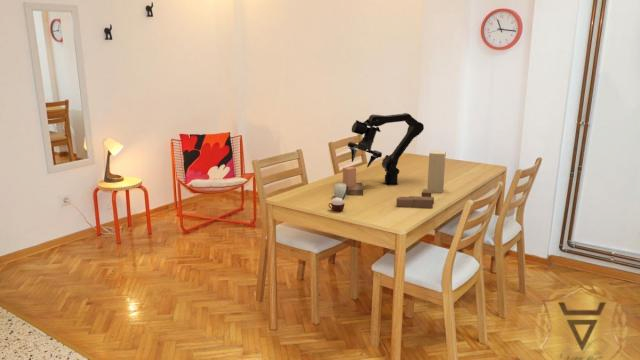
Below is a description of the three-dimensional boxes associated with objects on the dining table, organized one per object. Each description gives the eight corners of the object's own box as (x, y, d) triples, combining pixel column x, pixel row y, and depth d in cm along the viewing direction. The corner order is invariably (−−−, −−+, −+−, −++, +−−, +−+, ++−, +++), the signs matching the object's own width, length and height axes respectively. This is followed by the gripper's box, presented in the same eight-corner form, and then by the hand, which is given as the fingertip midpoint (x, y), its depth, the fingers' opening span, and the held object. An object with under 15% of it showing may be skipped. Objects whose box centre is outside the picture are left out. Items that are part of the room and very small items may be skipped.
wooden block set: (434, 197, 249) (396, 196, 252) (434, 209, 251) (396, 207, 254) (433, 188, 265) (397, 186, 268) (432, 198, 267) (397, 197, 270)
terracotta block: (350, 184, 283) (350, 166, 280) (356, 186, 279) (356, 168, 276) (342, 185, 280) (342, 167, 277) (348, 187, 276) (348, 169, 273)
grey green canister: (346, 195, 272) (346, 182, 271) (346, 199, 267) (346, 186, 265) (334, 195, 273) (334, 182, 271) (334, 199, 267) (334, 186, 265)
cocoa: (327, 211, 249) (325, 187, 246) (333, 207, 254) (332, 183, 251) (344, 213, 244) (343, 189, 241) (351, 209, 250) (349, 185, 246)
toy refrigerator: (444, 189, 282) (446, 151, 276) (442, 193, 275) (444, 154, 269) (429, 188, 284) (430, 150, 279) (427, 192, 277) (428, 153, 272)
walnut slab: (362, 187, 287) (362, 182, 286) (363, 195, 273) (363, 189, 272) (336, 187, 287) (336, 182, 286) (336, 195, 274) (336, 189, 273)
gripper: (349, 131, 280) (339, 158, 282) (381, 142, 274) (371, 170, 276) (355, 132, 290) (346, 159, 292) (386, 143, 284) (376, 170, 286)
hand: (359, 164), depth 286 cm, fingers open, 9 cm apart
